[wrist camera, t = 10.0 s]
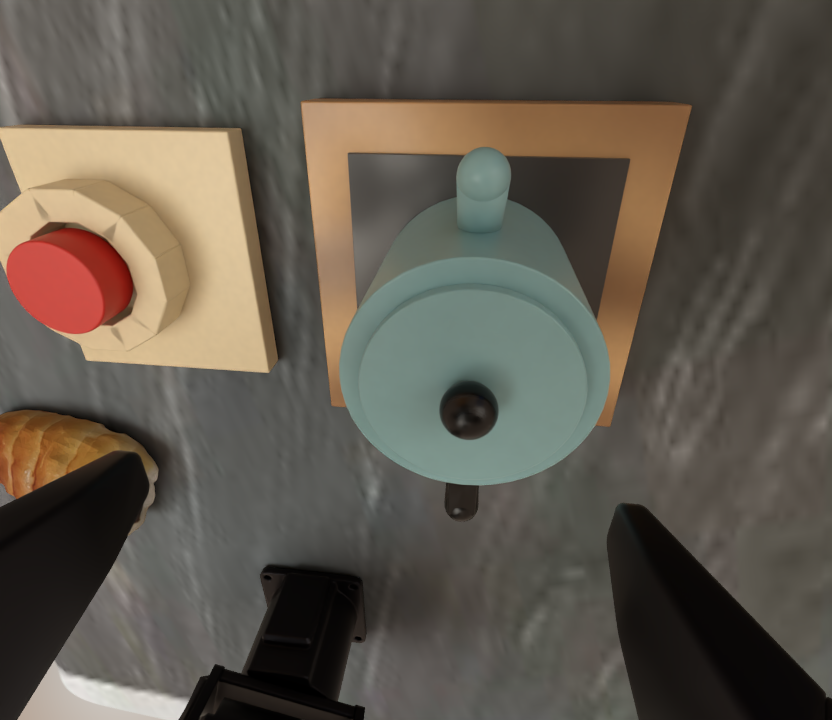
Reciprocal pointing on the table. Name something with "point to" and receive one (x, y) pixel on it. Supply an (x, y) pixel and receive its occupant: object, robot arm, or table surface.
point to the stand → (530, 187)
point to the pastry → (59, 451)
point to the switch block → (153, 236)
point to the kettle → (475, 343)
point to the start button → (70, 280)
